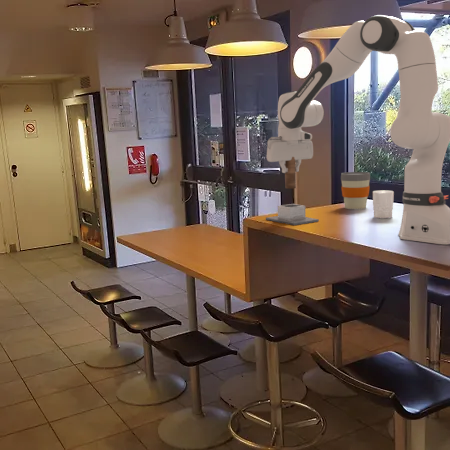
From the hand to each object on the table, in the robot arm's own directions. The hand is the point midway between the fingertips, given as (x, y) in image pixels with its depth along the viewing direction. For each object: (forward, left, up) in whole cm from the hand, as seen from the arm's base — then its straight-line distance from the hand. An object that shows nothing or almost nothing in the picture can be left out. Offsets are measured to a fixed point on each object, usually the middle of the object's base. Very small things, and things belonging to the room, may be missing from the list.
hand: (290, 172), depth 214 cm
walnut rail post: (0, 0, -6) cm, 6 cm away
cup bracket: (0, 0, -19) cm, 19 cm away
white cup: (-19, -30, -19) cm, 40 cm away
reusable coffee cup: (+6, -40, -19) cm, 45 cm away
